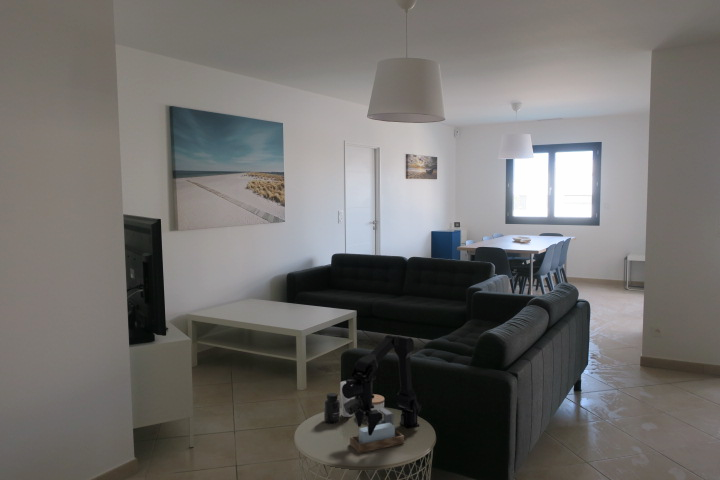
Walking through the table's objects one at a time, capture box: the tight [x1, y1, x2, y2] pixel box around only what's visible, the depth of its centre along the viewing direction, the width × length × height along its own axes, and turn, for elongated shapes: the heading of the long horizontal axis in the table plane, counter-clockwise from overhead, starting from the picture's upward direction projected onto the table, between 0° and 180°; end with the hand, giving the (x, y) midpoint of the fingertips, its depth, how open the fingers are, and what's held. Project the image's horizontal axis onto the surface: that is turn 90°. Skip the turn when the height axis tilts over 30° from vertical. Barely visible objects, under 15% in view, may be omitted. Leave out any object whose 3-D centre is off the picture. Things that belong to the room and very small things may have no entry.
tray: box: [349, 429, 405, 454], centre depth 216 cm, size 20×8×3 cm, turn 117°
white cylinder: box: [339, 380, 355, 418], centre depth 246 cm, size 7×7×15 cm
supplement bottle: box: [323, 392, 341, 424], centre depth 239 cm, size 7×7×12 cm
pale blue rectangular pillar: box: [358, 423, 396, 444], centre depth 216 cm, size 14×4×6 cm, turn 116°
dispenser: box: [377, 407, 395, 426], centre depth 230 cm, size 6×7×8 cm
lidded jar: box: [371, 393, 385, 414], centre depth 247 cm, size 11×11×9 cm
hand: (364, 430), depth 214 cm, fingers open, 9 cm apart
